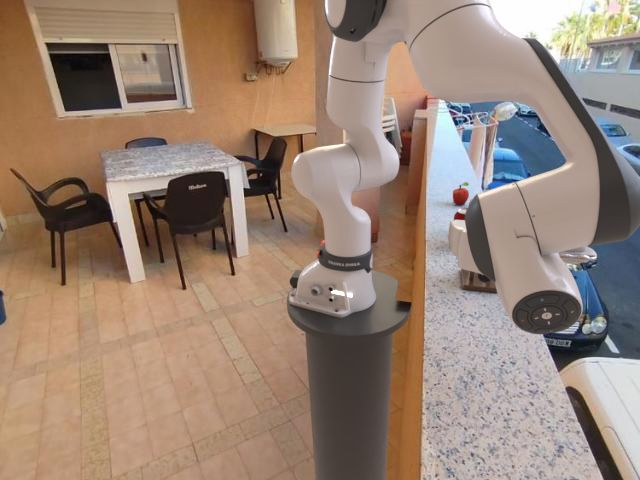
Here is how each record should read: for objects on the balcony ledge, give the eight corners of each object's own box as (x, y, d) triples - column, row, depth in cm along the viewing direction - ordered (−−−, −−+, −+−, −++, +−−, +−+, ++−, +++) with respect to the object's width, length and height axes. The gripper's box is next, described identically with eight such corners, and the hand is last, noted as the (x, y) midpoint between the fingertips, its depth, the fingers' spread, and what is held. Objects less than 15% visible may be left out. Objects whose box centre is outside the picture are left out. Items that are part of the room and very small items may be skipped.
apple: (446, 204, 154) (449, 180, 150) (456, 200, 157) (459, 177, 153) (463, 208, 148) (466, 184, 144) (473, 205, 152) (476, 181, 148)
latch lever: (491, 286, 87) (494, 279, 84) (476, 284, 88) (478, 278, 85) (491, 234, 93) (493, 227, 91) (476, 233, 94) (478, 226, 92)
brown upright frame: (497, 293, 92) (507, 238, 86) (462, 289, 94) (470, 235, 88) (492, 273, 100) (501, 222, 94) (461, 270, 103) (467, 220, 97)
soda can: (447, 248, 116) (451, 212, 111) (454, 240, 121) (458, 205, 116) (470, 253, 112) (475, 216, 107) (476, 245, 117) (481, 209, 112)
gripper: (607, 241, 52) (576, 209, 64) (451, 230, 57) (450, 202, 69) (596, 281, 54) (567, 242, 66) (447, 267, 60) (446, 234, 72)
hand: (506, 222), depth 68 cm, fingers open, 8 cm apart
